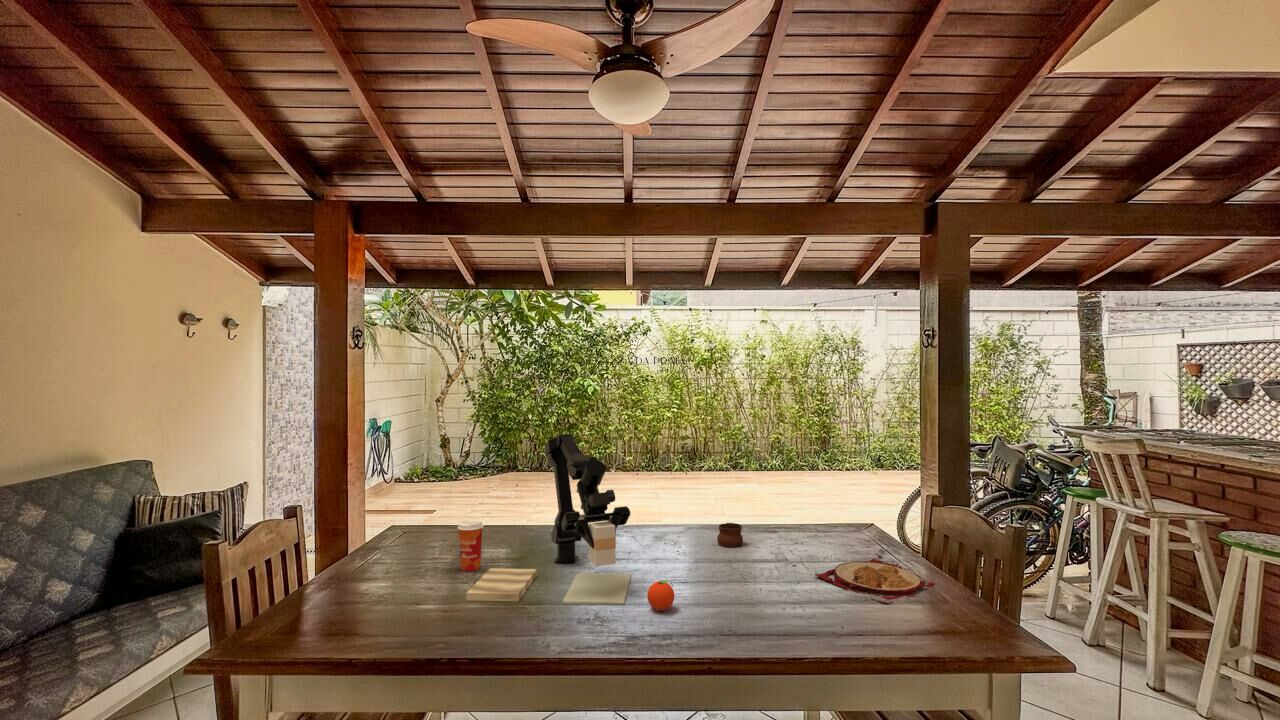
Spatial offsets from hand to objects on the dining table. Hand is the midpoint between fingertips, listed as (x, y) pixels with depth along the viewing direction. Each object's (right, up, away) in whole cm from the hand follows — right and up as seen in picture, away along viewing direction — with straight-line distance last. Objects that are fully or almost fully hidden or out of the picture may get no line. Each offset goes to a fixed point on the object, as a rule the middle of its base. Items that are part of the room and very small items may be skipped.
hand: (603, 546), depth 164 cm
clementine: (+15, -13, -9) cm, 22 cm away
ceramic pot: (+41, -15, +48) cm, 64 cm away
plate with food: (+78, -14, +10) cm, 80 cm away
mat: (-2, -14, +5) cm, 15 cm away
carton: (0, -5, +1) cm, 5 cm away
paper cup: (-42, -14, +24) cm, 51 cm away
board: (-29, -14, +7) cm, 33 cm away
